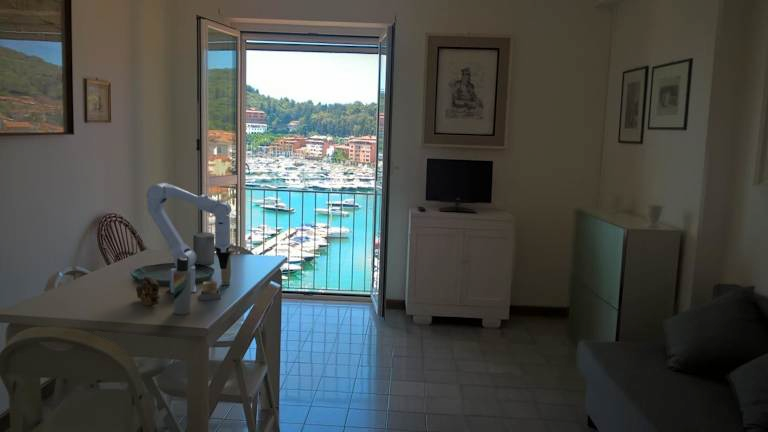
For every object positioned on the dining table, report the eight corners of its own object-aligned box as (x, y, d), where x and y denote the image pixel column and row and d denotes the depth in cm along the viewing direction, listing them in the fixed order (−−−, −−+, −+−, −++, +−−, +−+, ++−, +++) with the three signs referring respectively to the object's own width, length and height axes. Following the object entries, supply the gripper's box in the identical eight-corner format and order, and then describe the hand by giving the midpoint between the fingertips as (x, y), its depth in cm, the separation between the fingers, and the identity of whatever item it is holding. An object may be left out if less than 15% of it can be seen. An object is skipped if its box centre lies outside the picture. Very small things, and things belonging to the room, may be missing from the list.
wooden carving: (131, 300, 227) (131, 274, 226) (143, 298, 230) (143, 272, 229) (152, 311, 216) (152, 284, 215) (164, 309, 219) (164, 282, 218)
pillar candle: (193, 260, 294) (193, 229, 292) (214, 259, 297) (214, 229, 294) (193, 265, 285) (193, 233, 282) (214, 264, 288) (215, 233, 285)
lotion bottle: (184, 309, 220) (185, 254, 217) (193, 312, 217) (194, 257, 214) (170, 312, 216) (170, 257, 213) (179, 316, 213) (179, 260, 210)
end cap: (199, 299, 232) (199, 294, 232) (199, 295, 237) (199, 290, 237) (220, 299, 235) (220, 294, 234) (219, 295, 240) (219, 290, 239)
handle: (228, 286, 252) (229, 251, 250) (215, 284, 254) (216, 249, 252) (235, 284, 257) (236, 249, 254) (222, 282, 259) (223, 247, 257)
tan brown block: (203, 299, 234) (203, 283, 233) (202, 296, 237) (203, 281, 236) (216, 298, 235) (216, 283, 235) (216, 296, 238) (216, 281, 237)
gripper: (234, 236, 235) (234, 270, 237) (231, 229, 249) (231, 262, 251) (215, 236, 233) (215, 271, 235) (213, 229, 247) (214, 262, 249)
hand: (222, 266), depth 243 cm, fingers open, 7 cm apart
